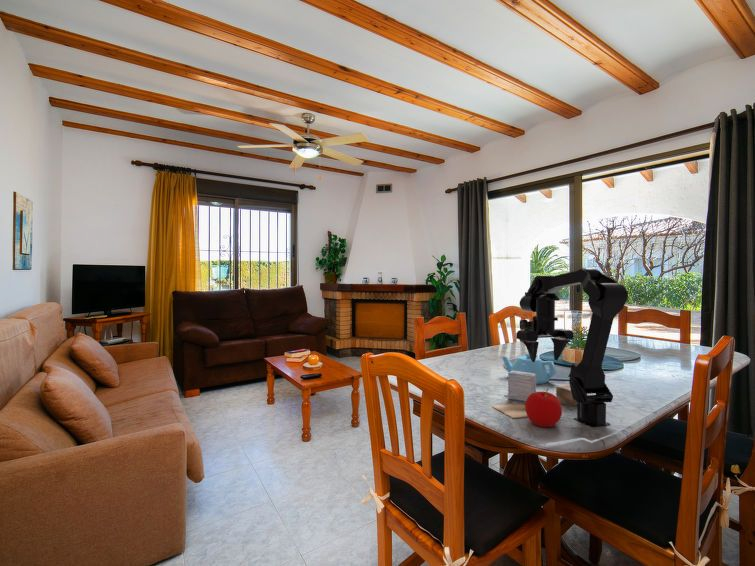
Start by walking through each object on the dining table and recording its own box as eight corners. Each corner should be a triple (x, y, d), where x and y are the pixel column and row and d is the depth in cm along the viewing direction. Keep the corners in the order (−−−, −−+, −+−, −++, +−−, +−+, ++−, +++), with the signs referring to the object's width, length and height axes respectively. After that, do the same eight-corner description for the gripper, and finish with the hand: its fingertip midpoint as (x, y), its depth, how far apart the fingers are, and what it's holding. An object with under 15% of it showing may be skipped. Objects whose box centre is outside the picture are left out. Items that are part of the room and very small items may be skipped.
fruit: (550, 434, 93) (550, 395, 93) (518, 422, 101) (518, 386, 100) (568, 426, 99) (569, 388, 99) (537, 415, 106) (537, 381, 106)
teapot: (520, 387, 134) (520, 358, 134) (500, 376, 149) (501, 350, 149) (559, 386, 136) (559, 357, 136) (535, 375, 151) (536, 349, 151)
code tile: (541, 406, 116) (541, 404, 116) (526, 407, 114) (526, 405, 114) (518, 395, 126) (518, 393, 126) (503, 397, 124) (503, 395, 124)
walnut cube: (580, 404, 116) (580, 388, 116) (570, 406, 114) (570, 390, 113) (566, 399, 120) (566, 384, 120) (556, 401, 118) (556, 386, 118)
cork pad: (542, 415, 106) (542, 414, 106) (513, 418, 103) (513, 417, 103) (519, 403, 116) (519, 402, 116) (492, 407, 113) (492, 406, 113)
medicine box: (536, 400, 119) (536, 373, 119) (533, 403, 116) (533, 376, 116) (511, 395, 124) (511, 369, 124) (507, 399, 120) (507, 372, 120)
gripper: (549, 311, 132) (549, 354, 132) (505, 312, 126) (505, 357, 126) (575, 314, 121) (574, 361, 121) (528, 315, 115) (527, 364, 115)
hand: (544, 360), depth 121 cm, fingers open, 9 cm apart
